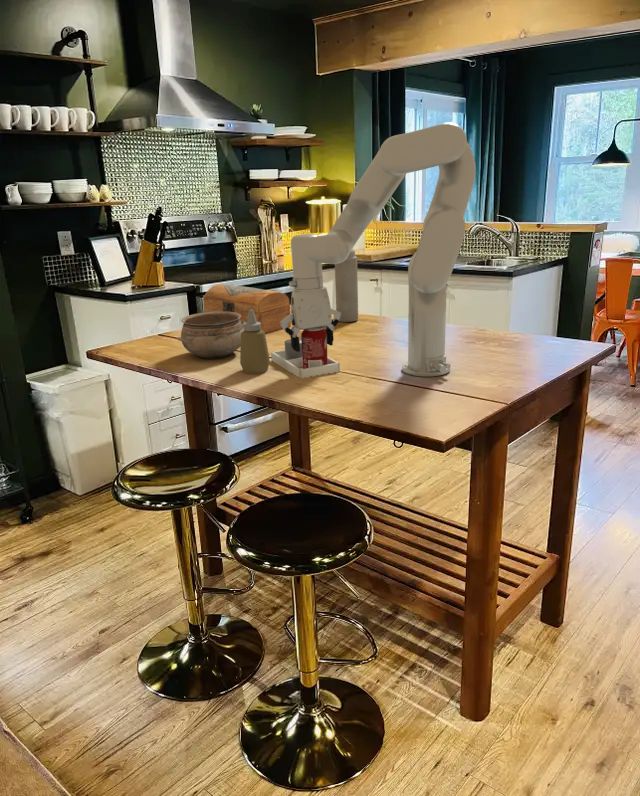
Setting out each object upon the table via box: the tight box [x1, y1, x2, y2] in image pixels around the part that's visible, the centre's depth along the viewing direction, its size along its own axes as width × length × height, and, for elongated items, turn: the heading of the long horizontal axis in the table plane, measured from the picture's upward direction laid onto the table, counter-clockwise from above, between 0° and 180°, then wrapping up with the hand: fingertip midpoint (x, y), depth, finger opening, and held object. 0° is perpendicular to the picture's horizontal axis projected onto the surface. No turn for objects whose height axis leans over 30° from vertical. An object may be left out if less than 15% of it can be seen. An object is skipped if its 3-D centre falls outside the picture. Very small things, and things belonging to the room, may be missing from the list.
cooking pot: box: [177, 311, 245, 360], centre depth 189 cm, size 25×19×12 cm
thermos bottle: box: [334, 248, 359, 323], centre depth 226 cm, size 8×8×28 cm
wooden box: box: [202, 283, 292, 334], centre depth 226 cm, size 30×16×14 cm, turn 48°
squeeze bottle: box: [239, 310, 271, 375], centre depth 170 cm, size 8×8×18 cm
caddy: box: [270, 337, 341, 379], centre depth 175 cm, size 20×12×7 cm, turn 25°
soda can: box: [300, 326, 328, 369], centre depth 169 cm, size 7×7×12 cm
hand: (313, 347), depth 169 cm, fingers open, 9 cm apart
